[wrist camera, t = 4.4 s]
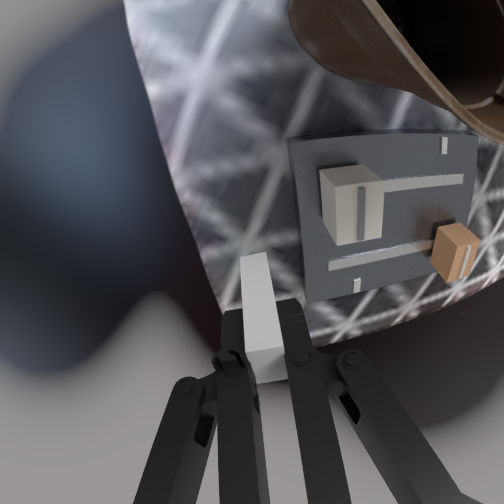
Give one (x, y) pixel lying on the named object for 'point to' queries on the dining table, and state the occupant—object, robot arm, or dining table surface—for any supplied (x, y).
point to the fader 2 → (454, 251)
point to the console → (394, 209)
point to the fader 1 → (352, 203)
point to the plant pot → (415, 50)
